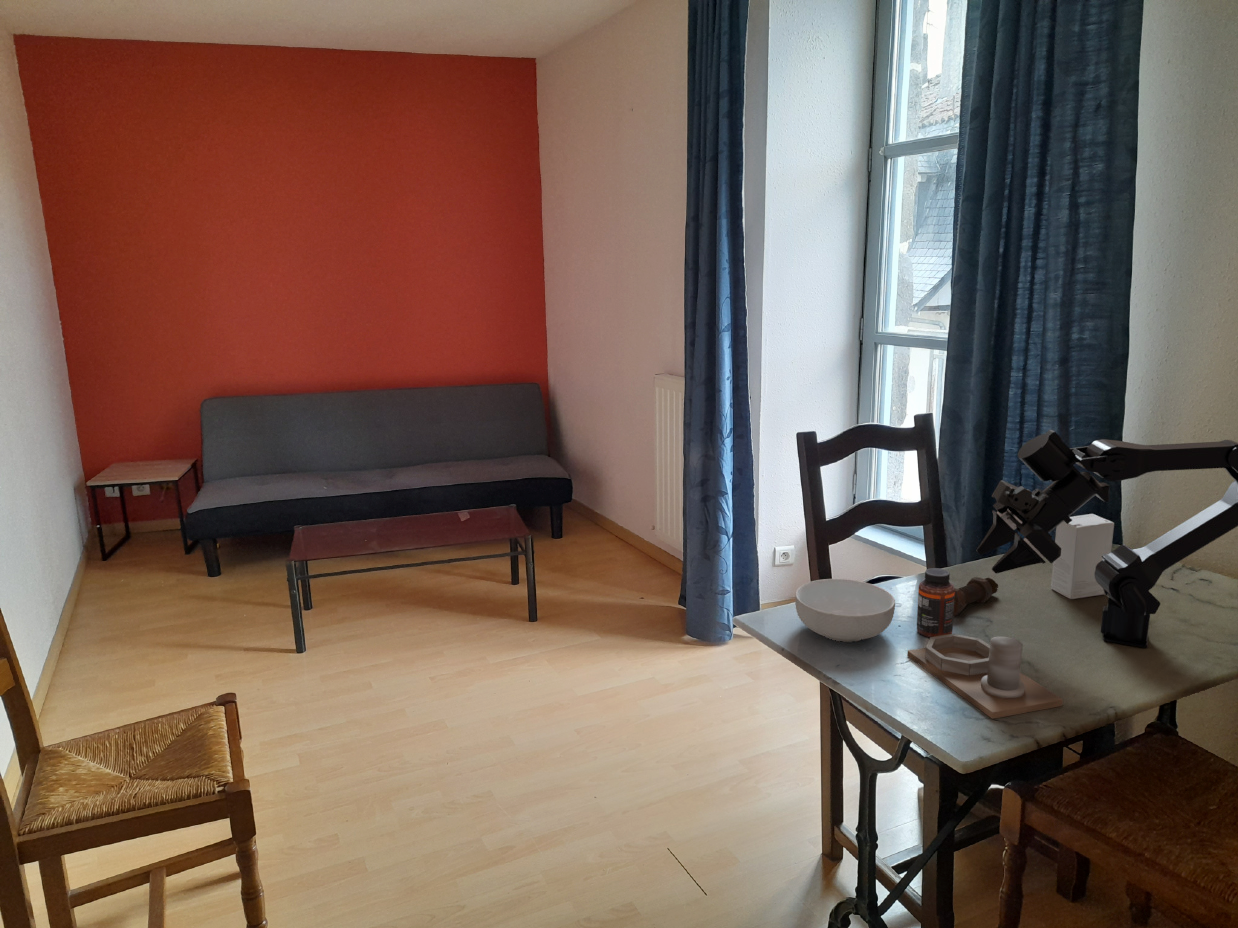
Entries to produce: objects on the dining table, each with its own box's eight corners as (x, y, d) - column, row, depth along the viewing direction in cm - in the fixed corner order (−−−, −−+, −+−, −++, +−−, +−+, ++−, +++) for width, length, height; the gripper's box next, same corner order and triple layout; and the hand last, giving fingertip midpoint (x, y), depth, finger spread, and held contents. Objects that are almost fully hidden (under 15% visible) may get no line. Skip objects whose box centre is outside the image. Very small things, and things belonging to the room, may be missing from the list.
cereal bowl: (832, 661, 143) (834, 621, 142) (775, 624, 158) (776, 587, 157) (914, 641, 150) (916, 603, 148) (852, 607, 165) (853, 572, 163)
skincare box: (1085, 584, 173) (1093, 512, 169) (1108, 595, 167) (1116, 521, 164) (1048, 589, 171) (1055, 516, 168) (1070, 600, 165) (1077, 525, 162)
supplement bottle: (953, 628, 155) (957, 568, 152) (950, 642, 149) (955, 579, 147) (918, 623, 157) (921, 563, 154) (914, 636, 152) (917, 575, 149)
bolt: (993, 604, 169) (948, 622, 160) (973, 586, 172) (928, 602, 163) (1010, 584, 166) (965, 601, 157) (989, 565, 169) (945, 581, 160)
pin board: (907, 655, 145) (910, 608, 143) (969, 645, 148) (973, 599, 146) (992, 718, 125) (996, 664, 123) (1062, 705, 128) (1067, 652, 126)
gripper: (1009, 453, 153) (940, 513, 157) (1046, 480, 135) (967, 547, 139) (1052, 497, 154) (982, 555, 158) (1095, 530, 136) (1015, 594, 140)
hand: (985, 561), depth 149 cm, fingers open, 9 cm apart
